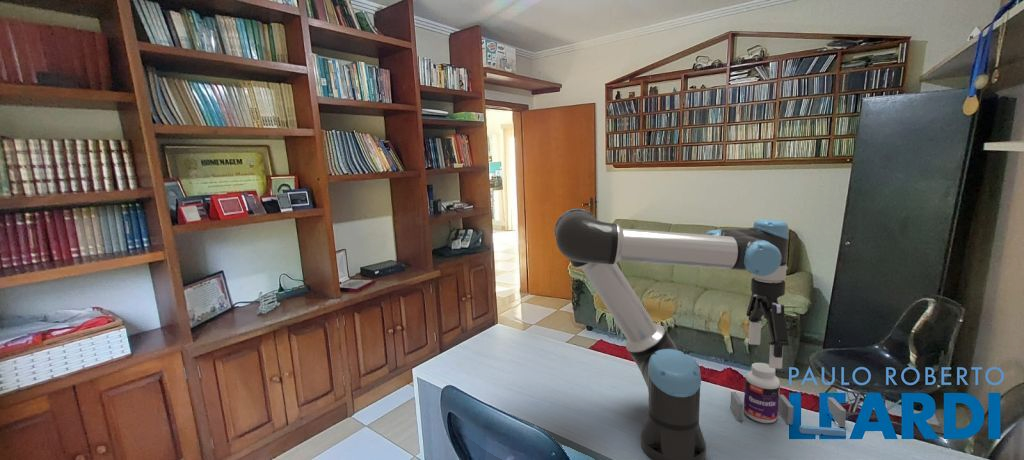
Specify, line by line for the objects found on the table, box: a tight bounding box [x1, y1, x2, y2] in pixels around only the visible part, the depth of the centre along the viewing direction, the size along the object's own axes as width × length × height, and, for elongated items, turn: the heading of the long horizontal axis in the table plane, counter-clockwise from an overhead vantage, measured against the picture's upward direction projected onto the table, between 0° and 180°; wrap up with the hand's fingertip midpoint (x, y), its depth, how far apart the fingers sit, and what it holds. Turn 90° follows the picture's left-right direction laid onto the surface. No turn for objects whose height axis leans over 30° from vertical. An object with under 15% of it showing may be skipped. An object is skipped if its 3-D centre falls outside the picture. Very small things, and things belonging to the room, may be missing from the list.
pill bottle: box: [743, 362, 781, 424], centre depth 111 cm, size 8×8×14 cm
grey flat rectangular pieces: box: [730, 391, 847, 437], centre depth 109 cm, size 10×26×5 cm, turn 79°
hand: (764, 355), depth 110 cm, fingers open, 13 cm apart
